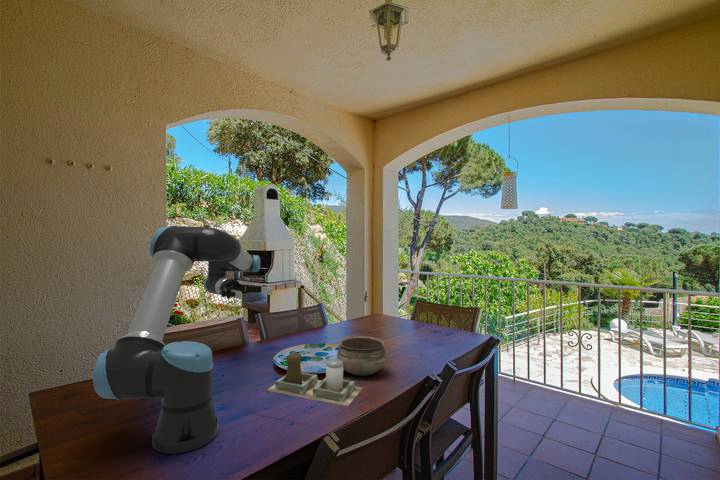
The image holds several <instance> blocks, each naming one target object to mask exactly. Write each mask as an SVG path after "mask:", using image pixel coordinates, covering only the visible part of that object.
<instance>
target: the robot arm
mask: <svg viewBox="0 0 720 480" xmlns="http://www.w3.org/2000/svg"><path fill="white" fill-rule="evenodd" d="M149 254H150V256H151V258H152V260H153V263H154V264H155V265H154V268H153V270H152V273H151V275H150V277H149V279H148V281H147V284H146V287H145V290H144V292H143V294H142V297H141V299H140V301H139V304H138V306H137V309H136V312H135V313H134V316H133V319H132V321H131V324H130V325H129V327H128V330H127V333H126V334H125V335H122V336H121V337H119V338H118V339H117V340H116V342H115V345H114V347H113V348H109V349H106V350H104V351H103V352H101V353H100V354H99V355H98V357H97V358H96V361H95V362H94V365H93V366H94V367H93V370H92V383H93V389H94V391H95V392H96V394H97V395H98V396H99V397H101V398H102V399H106V400H107V399H114V400H117V401H121V400H124V399H126V400H127V399H129V400H131V399H161V402H160V413H159V415H158V419H157V421H156V427H155V428H154V430H153V432H152V439H151V446H152V448H153V449H154V450H155V451H156V452H158V453H161V454H166V455H167V454H168V455H174V454H175V455H177V454H183V453H188V452H191V451H194V450H197V449H199V448H202V447H204V446H206V445H208V444H209V443H210V442H211V441H213V440H214V439H215V438H216V437H217V435H218V433H219V418H218V417H217V415H216V411H215V407H214V405H213V401H212V400H213V397H212V395H213V368H214V362H213V350H212V349H211V348H210V347H209V346H208V345H207V344H204V343H201V342H197V341H187V340H185V341H175V342H174V341H173V342H169V343H167V344H165V343H164V341H163V338H164V336H165V332H166V330H167V327H168V324H169V320H170V317H171V314H172V313H173V308H174V306H175V304H176V301H177V297H178V293H179V292H180V288H181V285H182V282H183V280H184V278H185V274H186V273H187V272H190V271H191V270H192V268H193V266H194V263H195V262H202V263H203V262H208V263H207V265H208V266H207V267H208V268H207V277H206V278H205V280H204V281H203V288H204V290H205V291H206V292H208V293H210V294H213V295H219V296H220V297H221V298H226V299H227V300H230V299H231V298H234V299H238V300H242V299H243V294H249V293H258V294H259V293H260V294H263V295H268V296H272V295H273V287H268V285H265V284H262V285H255V284H242V283H240V281H239V280H237V279H231V278H228V277H227V272H228V273H229V272H233V273H234V272H239V273H241V272H243V273H247V272H248V273H257V272H259V271H260V268H261V257H260V255H257V254H256V255H255V254H250V253H248V251H246V250H245V249H244V248H243V247H242V246H241V243H240V241H239V240H238V239H237V238H236V237H235V236H233V235H232V234H229V233H228V232H226V231H224V230H221V229H218V228H215V227H210V226H184V225H183V226H179V225H170V226H168V225H167V226H161V227H160V228H157V230H156V231H154V233H153V235H152V236H151V239H150V246H149Z"/></svg>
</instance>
